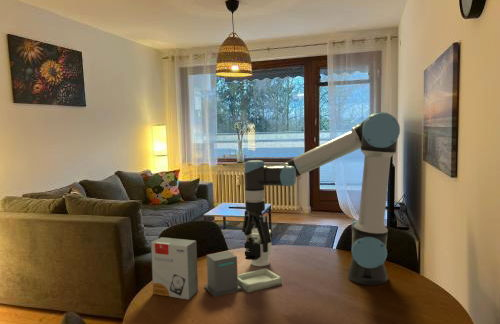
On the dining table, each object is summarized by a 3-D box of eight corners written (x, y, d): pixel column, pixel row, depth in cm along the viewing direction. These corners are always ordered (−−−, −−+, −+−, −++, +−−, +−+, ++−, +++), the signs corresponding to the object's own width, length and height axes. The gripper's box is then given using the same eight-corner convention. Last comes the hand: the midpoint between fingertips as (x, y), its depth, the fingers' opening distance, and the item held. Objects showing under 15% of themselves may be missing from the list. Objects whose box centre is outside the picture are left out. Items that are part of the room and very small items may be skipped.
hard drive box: (152, 294, 139) (149, 242, 138) (163, 286, 147) (161, 236, 145) (189, 300, 134) (186, 245, 132) (199, 291, 141) (196, 239, 140)
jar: (257, 258, 176) (256, 226, 175) (276, 262, 170) (275, 229, 169) (244, 265, 167) (243, 232, 166) (263, 269, 161) (262, 235, 160)
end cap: (262, 260, 141) (262, 243, 140) (244, 259, 143) (244, 242, 142) (267, 252, 151) (267, 235, 150) (250, 251, 152) (249, 235, 152)
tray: (281, 283, 146) (281, 277, 145) (247, 292, 139) (247, 286, 138) (266, 273, 156) (266, 268, 156) (233, 281, 149) (233, 275, 149)
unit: (241, 290, 141) (240, 256, 140) (214, 297, 136) (213, 262, 135) (230, 281, 150) (229, 249, 149) (204, 287, 145) (203, 254, 143)
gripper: (280, 204, 136) (281, 262, 138) (249, 195, 157) (250, 245, 159) (262, 206, 132) (263, 266, 134) (232, 196, 153) (234, 248, 155)
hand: (256, 255), depth 146 cm, fingers closed on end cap, 12 cm apart
